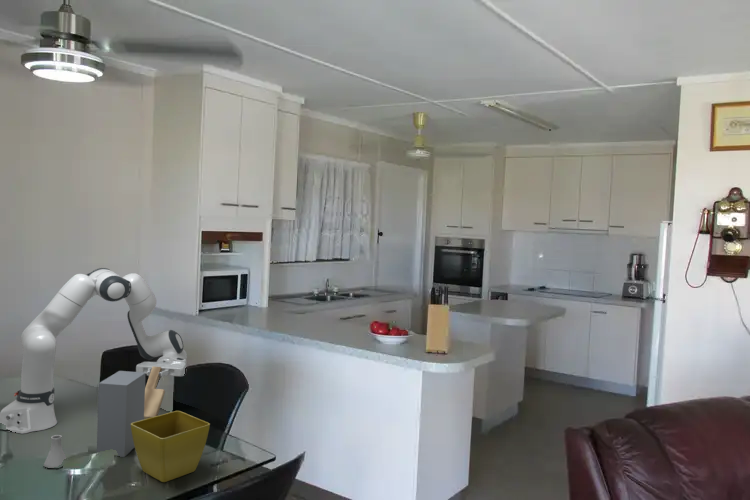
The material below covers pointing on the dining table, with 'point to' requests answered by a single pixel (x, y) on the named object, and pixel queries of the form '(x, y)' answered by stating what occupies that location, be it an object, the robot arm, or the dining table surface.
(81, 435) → the dining table surface
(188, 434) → the flower pot
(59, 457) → the flask
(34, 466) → the dining table surface
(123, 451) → the grey post
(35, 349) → the robot arm
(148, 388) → the oak paddle board
